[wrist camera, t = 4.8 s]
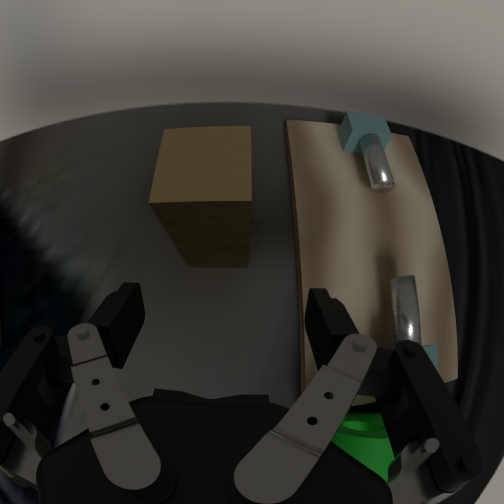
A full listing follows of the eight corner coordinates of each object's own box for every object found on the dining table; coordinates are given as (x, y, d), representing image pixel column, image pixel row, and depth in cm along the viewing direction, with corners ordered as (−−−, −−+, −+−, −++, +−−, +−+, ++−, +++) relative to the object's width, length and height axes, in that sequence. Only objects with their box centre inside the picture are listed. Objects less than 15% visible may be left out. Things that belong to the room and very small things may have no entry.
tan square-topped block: (188, 267, 21) (148, 202, 11) (192, 214, 22) (164, 129, 13) (247, 267, 21) (251, 200, 12) (247, 214, 22) (250, 125, 13)
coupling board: (300, 408, 17) (316, 423, 13) (284, 129, 26) (290, 96, 22) (447, 377, 18) (480, 378, 14) (403, 144, 26) (420, 119, 22)
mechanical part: (284, 473, 16) (304, 527, 8) (303, 407, 18) (338, 438, 10) (410, 469, 15) (462, 497, 8) (428, 411, 17) (490, 423, 10)
